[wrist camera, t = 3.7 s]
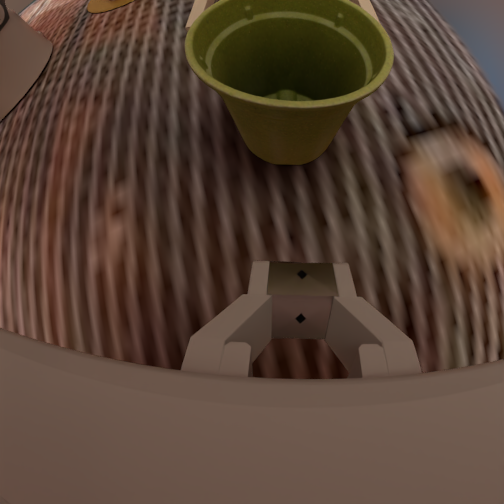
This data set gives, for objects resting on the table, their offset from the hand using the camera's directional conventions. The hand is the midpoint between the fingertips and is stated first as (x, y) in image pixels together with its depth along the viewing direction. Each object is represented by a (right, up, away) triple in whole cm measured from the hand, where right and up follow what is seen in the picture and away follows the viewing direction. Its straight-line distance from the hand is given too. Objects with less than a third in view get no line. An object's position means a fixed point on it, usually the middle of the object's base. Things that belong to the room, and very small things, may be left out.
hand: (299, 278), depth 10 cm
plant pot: (+1, +9, +9) cm, 13 cm away
